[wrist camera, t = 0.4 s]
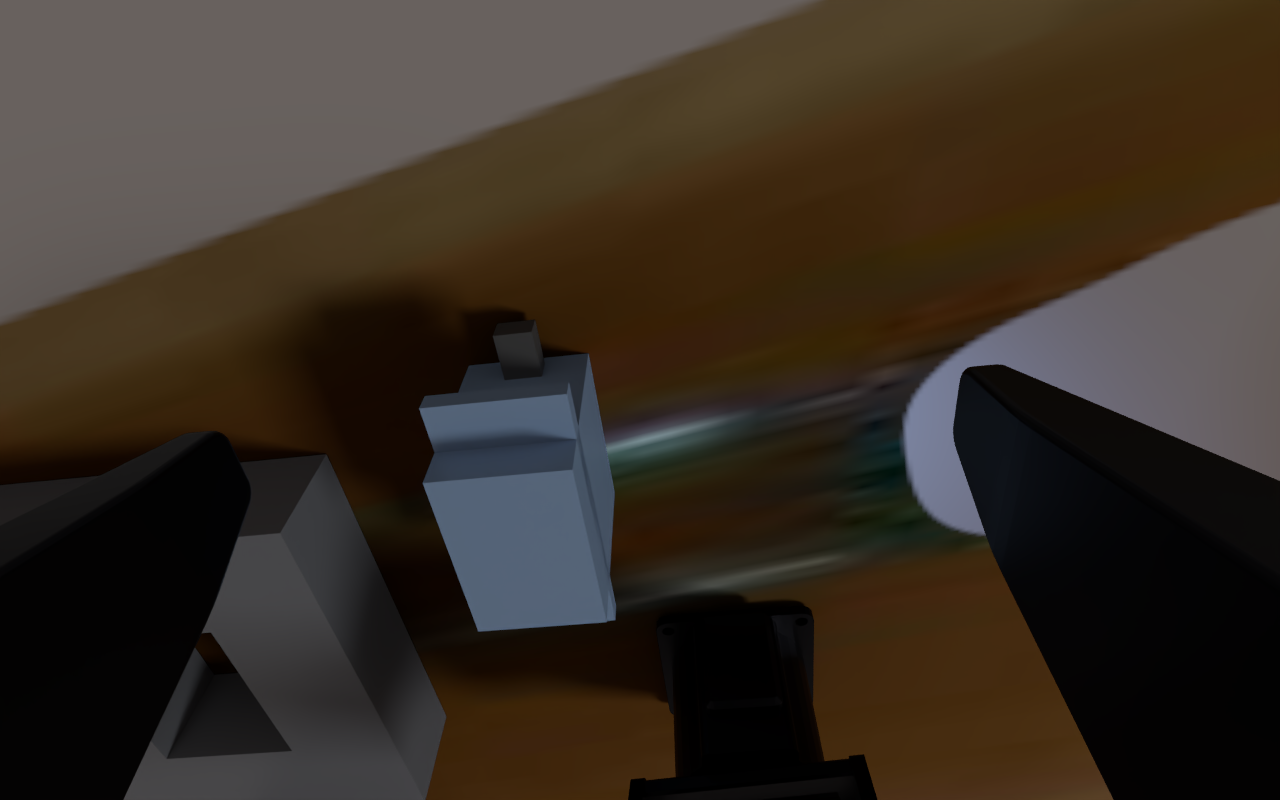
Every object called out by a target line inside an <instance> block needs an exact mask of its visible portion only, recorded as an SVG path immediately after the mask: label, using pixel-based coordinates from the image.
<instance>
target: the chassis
mask: <svg viewBox="0 0 1280 800" xmlns="http://www.w3.org/2000/svg"><path fill="white" fill-rule="evenodd" d="M240 463H241V465H242V467H243V469H244V471H245V473H246V475H247V477H248V479H249V482H250V485H251V501H250V505H249V508H248V511H247V513H246V516H245V519H244V522H243V525H242V528H241V531H240V534H239V537H238V540H237V542H236V545H235V548H234V551H233V554H232V557H231V560H230V563H229V566H228V568H227V571H226V574H225V577H224V580H223V583H222V586H221V589H220V591H219V594H218V597H217V599H216V602H215V604H214V607H213V609H212V612H211V614H210V616H209V618H208V621H207V623H206V625H205V627H204V629H203V631H202V633H210V632H211V633H212V635H213V636H214V638H215V639H216V640H217V642H218V643H219V645H220V646H221V648H222V649H223V651H224V652H225V654H226V655H227V657H228V658H229V659H230V661H231V662H232V664H233V665H234V667H235V668H236V670H237V671H238V673H231V674H217V675H214V674H213V672H212V671H211V669H210V668H209V667H208V665H207V664H206V662H205V661H204V660H203V658H202V657H201V655H200V654H199V653H198V651H197V650H196V648H195V649H194V651H193V653H192V655H191V657H190V659H189V661H188V663H187V666H186V668H185V670H184V672H183V674H182V676H181V678H180V680H179V683H178V685H177V687H176V689H175V691H174V693H173V695H172V698H171V700H170V702H169V704H168V706H167V708H166V710H165V712H164V715H163V717H162V719H161V721H160V723H159V725H158V727H157V729H156V732H155V734H154V736H153V738H152V740H151V742H150V744H149V747H148V749H147V751H146V753H145V755H144V757H143V759H142V761H141V764H140V766H139V768H138V770H137V772H136V774H135V776H134V778H133V781H132V783H131V785H130V787H129V789H128V791H127V793H126V796H125V798H124V800H425V799H426V795H427V791H428V787H429V783H430V779H431V775H432V771H433V767H434V763H435V759H436V755H437V751H438V747H439V743H440V739H441V735H442V731H443V727H444V723H445V719H446V715H445V713H444V711H443V708H442V706H441V704H440V702H439V700H438V697H437V695H436V693H435V691H434V689H433V686H432V684H431V682H430V680H429V678H428V675H427V673H426V671H425V669H424V667H423V665H422V662H421V660H420V658H419V656H418V654H417V651H416V649H415V647H414V645H413V643H412V640H411V638H410V636H409V634H408V632H407V630H406V627H405V625H404V623H403V621H402V619H401V616H400V614H399V612H398V610H397V608H396V605H395V603H394V601H393V599H392V597H391V594H390V592H389V590H388V588H387V586H386V584H385V581H384V579H383V577H382V575H381V573H380V570H379V568H378V566H377V564H376V562H375V559H374V557H373V555H372V553H371V551H370V548H369V546H368V544H367V542H366V540H365V538H364V535H363V533H362V531H361V529H360V527H359V524H358V522H357V520H356V518H355V516H354V513H353V511H352V509H351V507H350V505H349V502H348V500H347V498H346V496H345V494H344V492H343V489H342V487H341V485H340V483H339V481H338V478H337V476H336V474H335V472H334V470H333V467H332V465H331V463H330V461H329V459H328V457H327V454H324V455H314V456H303V457H293V458H282V459H272V460H261V461H250V462H240ZM96 477H98V476H92V477H81V478H71V479H60V480H50V481H39V482H29V483H18V484H8V485H0V525H2V524H4V523H6V522H8V521H10V520H12V519H14V518H16V517H18V516H20V515H22V514H24V513H26V512H28V511H30V510H32V509H34V508H36V507H38V506H40V505H42V504H44V503H46V502H48V501H50V500H52V499H54V498H56V497H58V496H60V495H62V494H64V493H66V492H68V491H70V490H72V489H74V488H76V487H78V486H80V485H82V484H84V483H86V482H88V481H90V480H92V479H94V478H96Z"/></svg>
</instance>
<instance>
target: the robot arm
mask: <svg viewBox="0 0 1280 800" xmlns="http://www.w3.org/2000/svg"><path fill="white" fill-rule="evenodd" d="M953 435H954V442H955V446H956V450H957V453H958V455H959V458H960V461H961V464H962V467H963V470H964V473H965V476H966V479H967V482H968V485H969V487H970V490H971V493H972V496H973V499H974V502H975V505H976V508H977V511H978V514H979V516H980V519H981V522H982V525H983V528H984V531H985V534H986V537H987V539H988V542H989V545H990V547H991V550H992V552H993V555H994V557H995V559H996V561H997V563H998V566H999V568H1000V570H1001V572H1002V574H1003V576H1004V578H1005V580H1006V582H1007V584H1008V586H1009V588H1010V590H1011V592H1012V594H1013V596H1014V599H1015V601H1016V603H1017V605H1018V607H1019V609H1020V611H1021V613H1022V615H1023V617H1024V619H1025V621H1026V623H1027V625H1028V627H1029V629H1030V631H1031V633H1032V635H1033V637H1034V639H1035V641H1036V643H1037V645H1038V647H1039V649H1040V651H1041V653H1042V655H1043V657H1044V659H1045V661H1046V663H1047V665H1048V667H1049V670H1050V672H1051V674H1052V676H1053V678H1054V680H1055V682H1056V684H1057V686H1058V688H1059V690H1060V692H1061V694H1062V696H1063V698H1064V700H1065V702H1066V704H1067V706H1068V708H1069V710H1070V712H1071V714H1072V716H1073V718H1074V720H1075V722H1076V724H1077V726H1078V728H1079V730H1080V732H1081V734H1082V736H1083V739H1084V741H1085V743H1086V745H1087V747H1088V749H1089V751H1090V753H1091V755H1092V757H1093V759H1094V761H1095V763H1096V765H1097V767H1098V769H1099V771H1100V773H1101V775H1102V777H1103V779H1104V781H1105V783H1106V785H1107V787H1108V789H1109V791H1110V793H1111V795H1112V797H1113V799H1114V800H1280V481H1278V480H1276V479H1274V478H1271V477H1269V476H1267V475H1264V474H1262V473H1259V472H1257V471H1255V470H1252V469H1250V468H1247V467H1245V466H1243V465H1240V464H1238V463H1236V462H1233V461H1231V460H1228V459H1226V458H1224V457H1221V456H1219V455H1216V454H1214V453H1212V452H1209V451H1207V450H1204V449H1202V448H1200V447H1197V446H1195V445H1192V444H1190V443H1188V442H1185V441H1183V440H1181V439H1178V438H1176V437H1174V436H1171V435H1169V434H1166V433H1164V432H1162V431H1159V430H1156V429H1154V428H1152V427H1150V426H1147V425H1145V424H1143V423H1140V422H1138V421H1136V420H1133V419H1131V418H1128V417H1126V416H1124V415H1121V414H1119V413H1116V412H1114V411H1112V410H1109V409H1107V408H1104V407H1102V406H1100V405H1097V404H1095V403H1093V402H1090V401H1088V400H1086V399H1083V398H1081V397H1078V396H1076V395H1073V394H1071V393H1069V392H1066V391H1064V390H1062V389H1059V388H1057V387H1055V386H1052V385H1050V384H1047V383H1045V382H1043V381H1040V380H1038V379H1036V378H1033V377H1031V376H1028V375H1026V374H1024V373H1021V372H1019V371H1016V370H1014V369H1011V368H1009V367H1007V366H1004V365H985V366H974V367H969V368H967V369H966V370H965V371H964V372H963V373H962V376H961V378H960V383H959V390H958V398H957V404H956V412H955V419H954V426H953ZM250 501H251V485H250V482H249V479H248V477H247V475H246V473H245V471H244V469H243V467H242V465H241V463H240V461H239V459H238V457H237V455H236V453H235V451H234V449H233V447H232V445H231V443H230V441H229V440H228V438H227V437H226V436H225V435H224V434H222V433H220V432H218V431H206V432H194V433H187V434H184V435H181V436H179V437H177V438H175V439H173V440H171V441H169V442H167V443H165V444H163V445H161V446H159V447H157V448H155V449H153V450H151V451H149V452H147V453H145V454H143V455H141V456H139V457H137V458H135V459H133V460H131V461H129V462H127V463H125V464H123V465H121V466H119V467H117V468H115V469H113V470H111V471H108V472H106V473H104V474H102V475H100V476H98V477H96V478H94V479H92V480H90V481H88V482H86V483H84V484H82V485H80V486H78V487H76V488H74V489H72V490H70V491H68V492H66V493H64V494H62V495H60V496H58V497H56V498H54V499H52V500H50V501H48V502H46V503H44V504H42V505H40V506H38V507H36V508H34V509H32V510H30V511H28V512H26V513H24V514H22V515H20V516H18V517H16V518H14V519H12V520H10V521H8V522H6V523H4V524H2V525H0V800H124V798H125V796H126V793H127V791H128V789H129V787H130V785H131V783H132V781H133V778H134V776H135V774H136V772H137V770H138V768H139V766H140V764H141V761H142V759H143V757H144V755H145V753H146V751H147V749H148V747H149V744H150V742H151V740H152V738H153V736H154V734H155V732H156V729H157V727H158V725H159V723H160V721H161V719H162V717H163V715H164V712H165V710H166V708H167V706H168V704H169V702H170V700H171V698H172V695H173V693H174V691H175V689H176V687H177V685H178V683H179V680H180V678H181V676H182V674H183V672H184V670H185V668H186V666H187V663H188V661H189V659H190V657H191V655H192V653H193V651H194V649H195V646H196V644H197V642H198V640H199V638H200V636H201V634H202V631H203V629H204V627H205V625H206V623H207V621H208V618H209V616H210V614H211V612H212V609H213V607H214V604H215V602H216V599H217V597H218V594H219V591H220V589H221V586H222V583H223V580H224V577H225V574H226V571H227V568H228V566H229V563H230V560H231V557H232V554H233V551H234V548H235V545H236V542H237V540H238V537H239V534H240V531H241V528H242V525H243V522H244V519H245V516H246V513H247V511H248V508H249V505H250ZM667 627H669V628H667ZM656 633H657V639H658V644H659V650H660V656H661V662H662V668H663V674H664V680H665V686H666V691H667V697H668V703H669V709H670V712H671V713H672V714H673V715H674V738H675V771H676V777H673V778H664V779H655V780H646V779H645V778H639V779H631V781H630V789H629V797H628V800H877V797H876V793H875V790H874V787H873V783H872V780H871V777H870V773H869V770H868V767H867V763H866V760H865V757H864V754H863V755H853V756H849V759H841V760H832V761H824V756H823V752H822V747H821V742H820V737H819V732H818V727H817V722H816V717H815V713H814V708H813V653H814V619H813V615H812V611H811V610H810V609H809V608H808V607H805V606H793V607H779V608H766V609H752V610H739V611H726V612H712V613H699V614H685V615H672V616H664V617H661V618H659V619H658V621H657V624H656Z"/></svg>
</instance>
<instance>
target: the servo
mask: <svg viewBox="0 0 1280 800" xmlns="http://www.w3.org/2000/svg"><path fill="white" fill-rule="evenodd" d="M493 339H494V343H495V346H496V350H497V354H498V357H499V361H500V362H499V363H490V364H480V365H470V366H469V367H468V369H467V372H466V374H465V377H464V379H463V382H462V384H461V387H460V389H459V392H458V393H451V394H441V395H430V396H425V397H424V399H423V401H422V403H421V405H420V408H419V410H420V413H421V415H422V418H423V421H424V424H425V427H426V430H427V432H428V435H429V438H430V441H431V444H432V447H433V449H434V452H435V453H434V456H433V458H432V461H431V463H430V466H429V468H428V471H427V473H426V476H425V479H424V481H423V485H424V488H425V491H426V493H427V496H428V499H429V501H430V504H431V507H432V509H433V512H434V515H435V517H436V520H437V523H438V525H439V528H440V531H441V533H442V536H443V539H444V541H445V544H446V547H447V549H448V552H449V555H450V557H451V560H452V563H453V565H454V568H455V571H456V573H457V576H458V579H459V581H460V584H461V587H462V589H463V592H464V595H465V597H466V600H467V603H468V605H469V608H470V611H471V613H472V616H473V619H474V621H475V624H476V627H477V629H478V632H480V631H494V630H507V629H521V628H535V627H548V626H562V625H576V624H589V623H603V622H607V621H612V620H615V618H616V603H615V598H614V594H613V589H612V584H611V579H610V560H611V543H612V527H613V510H614V494H615V492H614V487H613V481H612V476H611V471H610V465H609V460H608V455H607V449H606V444H605V439H604V433H603V428H602V423H601V418H600V412H599V407H598V402H597V396H596V391H595V386H594V380H593V375H592V370H591V364H590V359H589V354H588V353H587V354H577V355H567V356H558V357H548V358H544V357H543V353H542V348H541V344H540V340H539V335H538V331H537V326H536V322H535V320H527V321H517V322H508V323H498V324H497V326H496V329H495V331H494V334H493Z"/></svg>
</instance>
